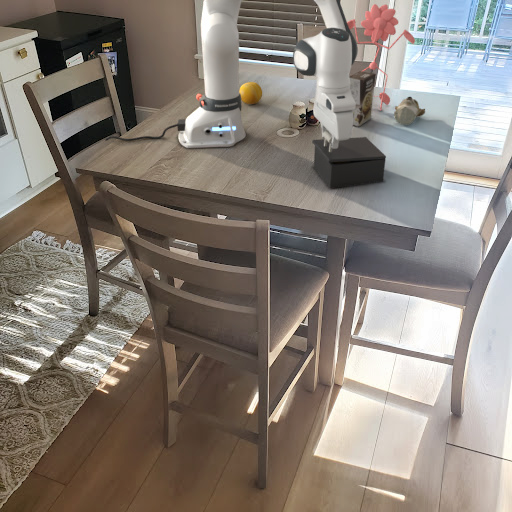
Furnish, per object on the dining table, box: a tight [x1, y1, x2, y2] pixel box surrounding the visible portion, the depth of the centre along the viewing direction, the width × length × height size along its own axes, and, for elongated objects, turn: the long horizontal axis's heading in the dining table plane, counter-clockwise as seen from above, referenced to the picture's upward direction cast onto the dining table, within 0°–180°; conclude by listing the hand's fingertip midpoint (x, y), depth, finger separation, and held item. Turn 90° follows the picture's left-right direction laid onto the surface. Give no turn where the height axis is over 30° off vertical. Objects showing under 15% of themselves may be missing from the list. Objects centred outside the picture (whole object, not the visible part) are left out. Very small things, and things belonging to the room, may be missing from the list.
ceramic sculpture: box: [393, 96, 426, 126], centre depth 194 cm, size 11×9×15 cm
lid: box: [311, 131, 387, 162], centre depth 157 cm, size 17×14×5 cm
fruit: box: [239, 81, 263, 105], centre depth 211 cm, size 9×8×8 cm
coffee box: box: [349, 70, 377, 127], centre depth 192 cm, size 9×6×16 cm
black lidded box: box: [313, 145, 387, 189], centre depth 161 cm, size 16×14×7 cm
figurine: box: [347, 3, 416, 111], centre depth 201 cm, size 15×26×35 cm, turn 71°
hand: (330, 143), depth 156 cm, fingers closed on lid, 5 cm apart
